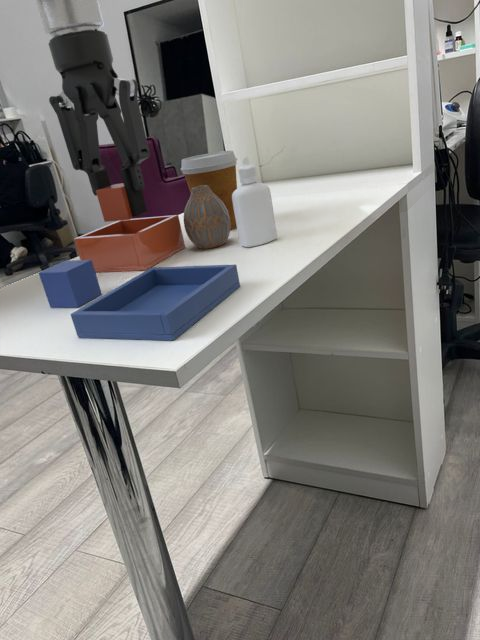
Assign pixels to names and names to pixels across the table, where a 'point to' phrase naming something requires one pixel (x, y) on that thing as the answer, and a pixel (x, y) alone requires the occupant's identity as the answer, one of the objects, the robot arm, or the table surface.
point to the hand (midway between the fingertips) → (125, 215)
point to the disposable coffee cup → (214, 176)
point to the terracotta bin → (131, 243)
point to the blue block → (70, 284)
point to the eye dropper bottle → (253, 208)
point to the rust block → (114, 203)
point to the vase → (206, 218)
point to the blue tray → (157, 303)
